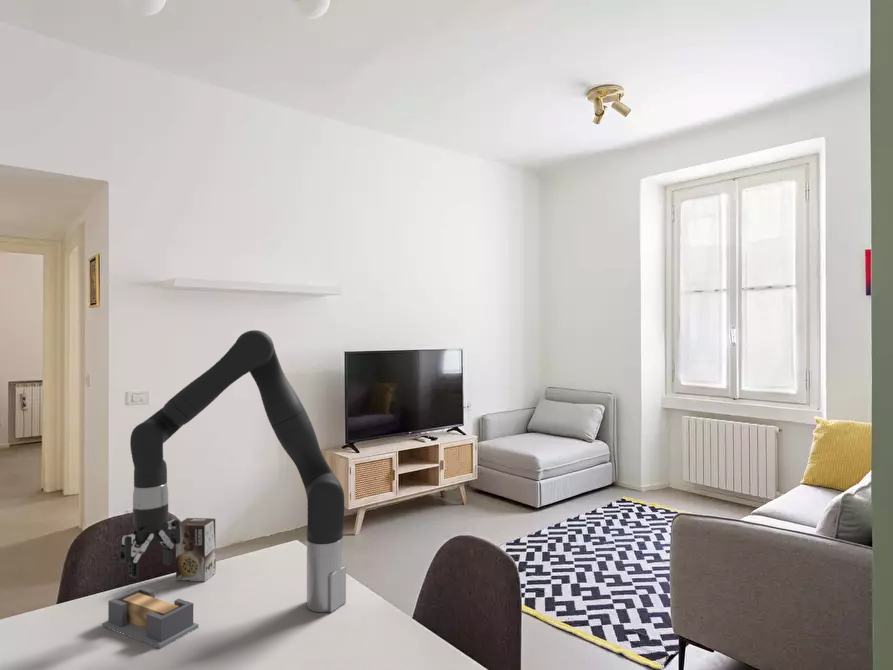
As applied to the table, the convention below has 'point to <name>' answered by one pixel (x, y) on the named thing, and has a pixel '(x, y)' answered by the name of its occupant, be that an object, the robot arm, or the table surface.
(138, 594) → the wooden block
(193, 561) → the coffee box
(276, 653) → the table surface
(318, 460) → the robot arm
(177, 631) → the end caps
